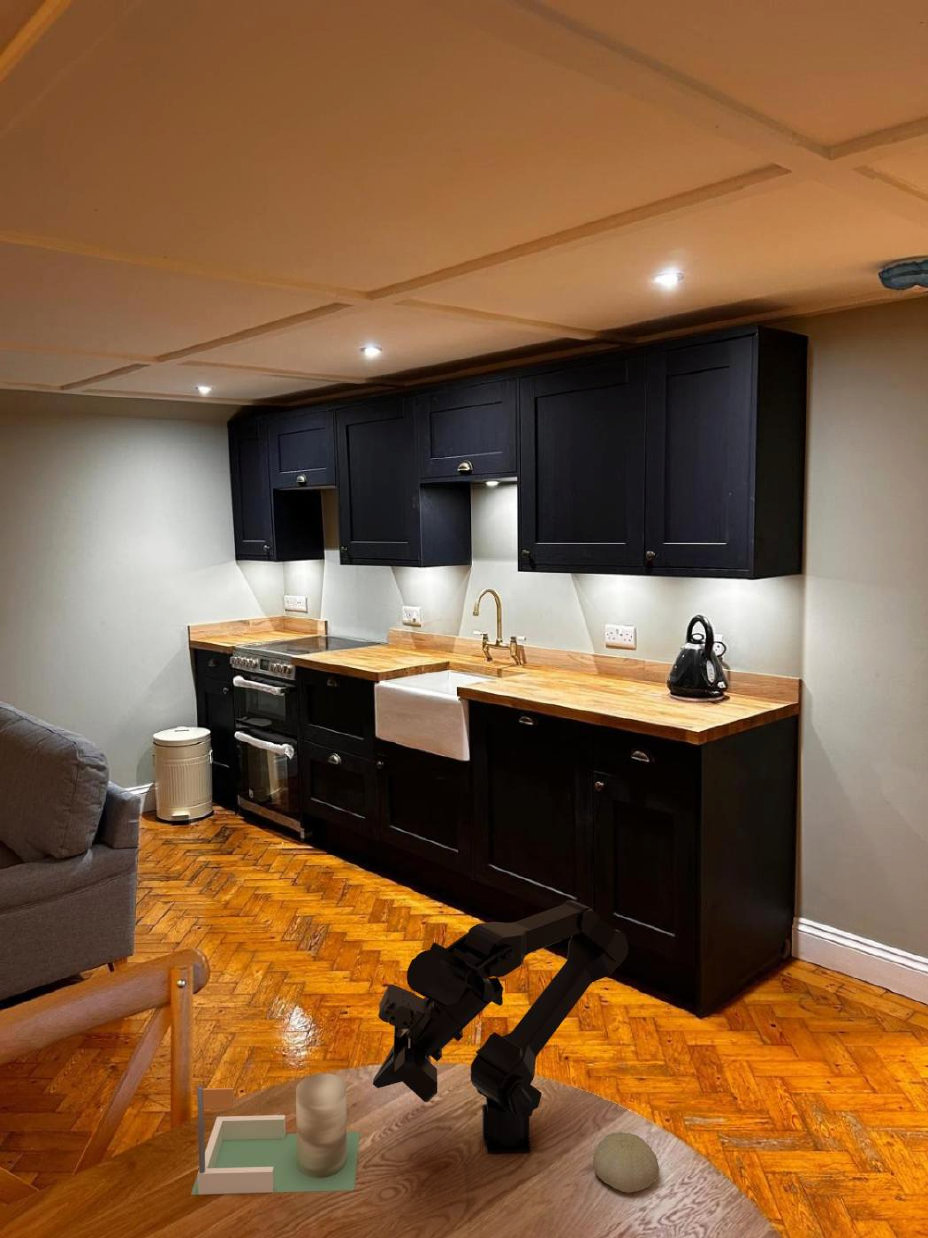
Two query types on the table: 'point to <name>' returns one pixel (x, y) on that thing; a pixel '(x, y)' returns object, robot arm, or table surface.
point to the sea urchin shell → (625, 1162)
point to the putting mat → (285, 1163)
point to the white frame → (233, 1129)
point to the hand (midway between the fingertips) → (375, 1084)
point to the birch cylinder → (321, 1125)
